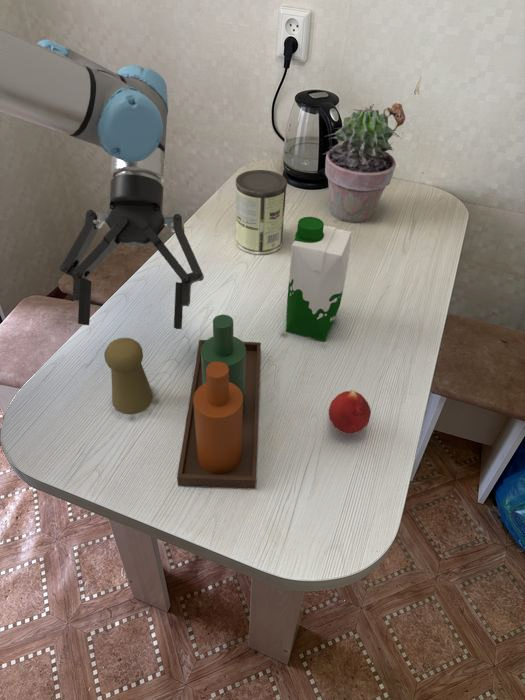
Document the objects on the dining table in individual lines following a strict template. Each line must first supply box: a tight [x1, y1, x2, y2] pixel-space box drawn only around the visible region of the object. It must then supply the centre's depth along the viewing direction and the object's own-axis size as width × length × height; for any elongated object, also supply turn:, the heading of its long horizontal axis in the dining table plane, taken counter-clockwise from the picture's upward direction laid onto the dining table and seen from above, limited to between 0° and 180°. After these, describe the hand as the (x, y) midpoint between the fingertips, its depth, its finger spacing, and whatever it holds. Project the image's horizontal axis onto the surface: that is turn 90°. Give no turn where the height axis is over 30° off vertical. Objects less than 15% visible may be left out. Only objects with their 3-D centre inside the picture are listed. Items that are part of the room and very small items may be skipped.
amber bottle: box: [193, 362, 243, 474], centre depth 63 cm, size 6×6×17 cm
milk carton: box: [285, 216, 352, 342], centre depth 84 cm, size 9×9×20 cm
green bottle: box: [201, 314, 246, 412], centre depth 69 cm, size 6×6×17 cm
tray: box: [176, 339, 262, 490], centre depth 75 cm, size 10×26×2 cm, turn 179°
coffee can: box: [235, 169, 288, 256], centre depth 105 cm, size 10×10×14 cm
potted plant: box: [315, 102, 406, 224], centre depth 113 cm, size 18×20×25 cm
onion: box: [328, 389, 372, 435], centre depth 71 cm, size 6×6×8 cm
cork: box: [104, 337, 154, 415], centre depth 73 cm, size 6×6×11 cm
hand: (130, 326), depth 73 cm, fingers open, 13 cm apart
